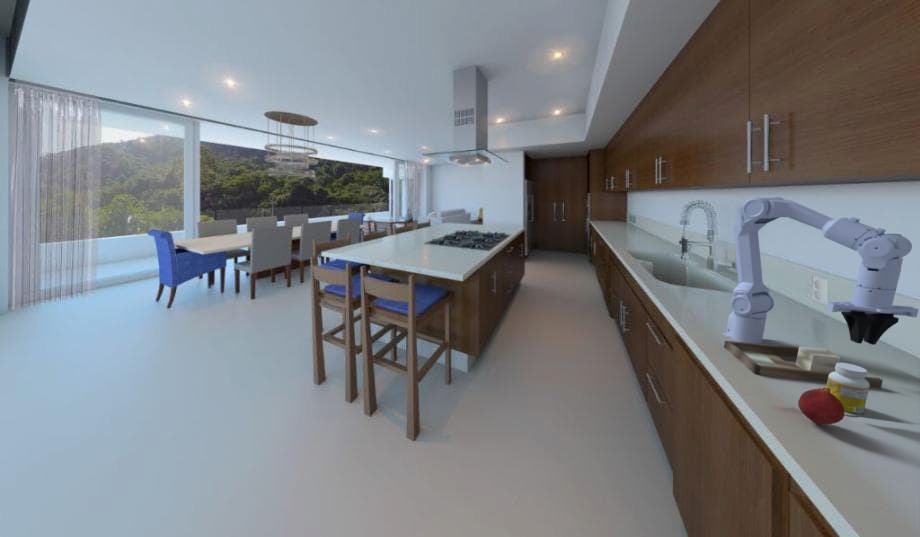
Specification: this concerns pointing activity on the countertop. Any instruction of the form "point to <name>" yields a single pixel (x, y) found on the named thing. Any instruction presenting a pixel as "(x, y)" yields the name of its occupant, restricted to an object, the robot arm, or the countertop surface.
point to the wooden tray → (779, 362)
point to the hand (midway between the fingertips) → (862, 342)
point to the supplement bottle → (849, 387)
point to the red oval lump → (821, 406)
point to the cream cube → (816, 359)
